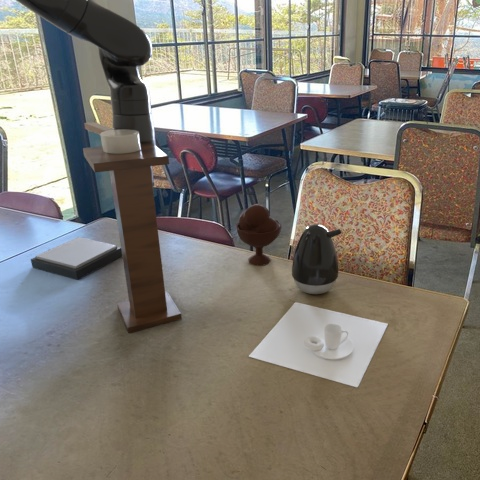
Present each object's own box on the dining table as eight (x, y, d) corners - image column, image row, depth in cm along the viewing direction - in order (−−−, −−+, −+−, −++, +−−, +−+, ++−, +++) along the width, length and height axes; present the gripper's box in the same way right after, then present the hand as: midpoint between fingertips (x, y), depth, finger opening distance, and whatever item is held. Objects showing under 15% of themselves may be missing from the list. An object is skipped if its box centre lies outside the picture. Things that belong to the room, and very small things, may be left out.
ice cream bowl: (289, 263, 117) (289, 205, 111) (248, 274, 112) (246, 214, 105) (268, 248, 125) (267, 193, 119) (229, 257, 119) (226, 200, 113)
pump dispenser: (339, 301, 102) (342, 235, 96) (290, 299, 102) (290, 233, 96) (337, 278, 111) (340, 217, 105) (293, 277, 111) (293, 215, 105)
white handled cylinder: (74, 138, 93) (71, 122, 92) (107, 134, 97) (105, 119, 96) (111, 155, 82) (109, 137, 81) (147, 150, 86) (145, 133, 85)
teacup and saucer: (299, 353, 85) (299, 334, 83) (315, 329, 92) (316, 311, 90) (345, 366, 82) (347, 346, 80) (359, 340, 89) (361, 322, 87)
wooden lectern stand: (109, 301, 99) (82, 148, 86) (167, 287, 105) (150, 142, 92) (122, 334, 89) (94, 165, 76) (186, 317, 95) (170, 157, 82)
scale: (30, 267, 112) (28, 256, 111) (79, 245, 124) (77, 234, 123) (77, 279, 107) (75, 268, 106) (123, 255, 119) (121, 244, 118)
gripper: (124, 130, 100) (132, 205, 106) (103, 143, 86) (114, 227, 92) (161, 131, 100) (167, 205, 106) (146, 144, 87) (154, 227, 93)
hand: (143, 215), depth 99 cm, fingers open, 8 cm apart
